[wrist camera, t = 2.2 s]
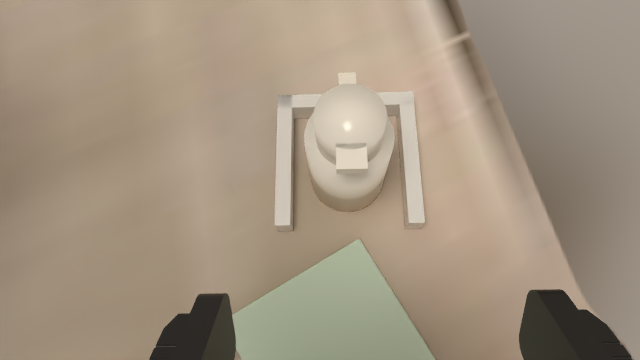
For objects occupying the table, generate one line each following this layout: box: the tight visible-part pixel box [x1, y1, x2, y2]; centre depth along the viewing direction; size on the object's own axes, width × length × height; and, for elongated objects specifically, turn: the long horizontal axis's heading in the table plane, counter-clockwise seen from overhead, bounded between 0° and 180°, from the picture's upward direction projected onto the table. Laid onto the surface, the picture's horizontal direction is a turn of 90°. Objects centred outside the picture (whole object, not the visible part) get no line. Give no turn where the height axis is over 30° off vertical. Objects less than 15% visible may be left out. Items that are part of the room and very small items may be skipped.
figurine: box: [304, 72, 395, 212], centre depth 31 cm, size 8×6×11 cm
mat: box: [232, 239, 435, 360], centre depth 31 cm, size 12×12×1 cm
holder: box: [275, 91, 425, 231], centre depth 35 cm, size 11×11×2 cm
